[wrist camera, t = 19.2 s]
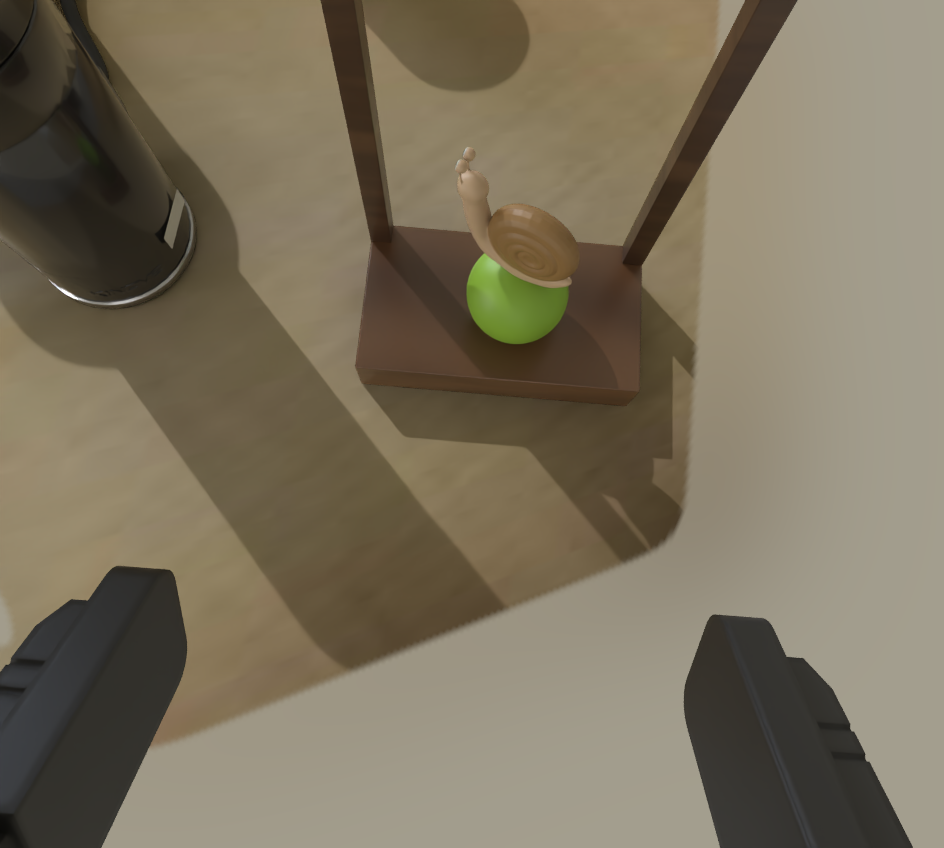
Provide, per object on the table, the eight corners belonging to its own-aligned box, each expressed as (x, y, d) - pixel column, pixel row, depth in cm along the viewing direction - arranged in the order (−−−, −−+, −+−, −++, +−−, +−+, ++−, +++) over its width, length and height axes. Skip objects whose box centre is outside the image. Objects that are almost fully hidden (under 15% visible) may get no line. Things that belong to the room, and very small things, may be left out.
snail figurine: (477, 247, 40) (490, 103, 28) (575, 296, 39) (629, 170, 28) (433, 322, 39) (426, 204, 27) (533, 374, 38) (570, 276, 27)
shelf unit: (626, 406, 41) (1994, -1055, 5) (361, 383, 41) (-317, -1341, 5) (629, 270, 43) (1573, -1420, 7) (378, 248, 43) (15, -1625, 7)
